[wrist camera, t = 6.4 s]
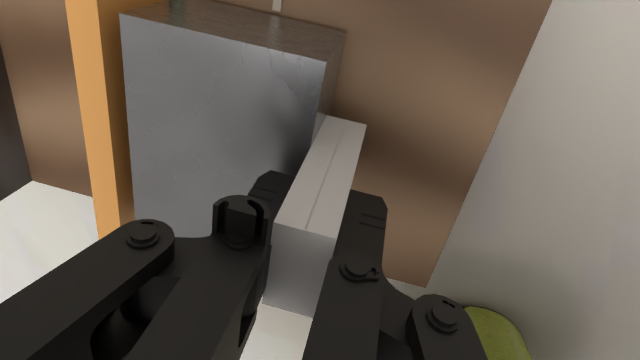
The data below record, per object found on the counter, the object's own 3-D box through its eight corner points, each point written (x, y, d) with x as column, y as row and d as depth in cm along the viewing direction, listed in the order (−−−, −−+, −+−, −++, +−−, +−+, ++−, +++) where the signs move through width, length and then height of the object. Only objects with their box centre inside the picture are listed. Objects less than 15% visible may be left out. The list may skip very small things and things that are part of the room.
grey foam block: (310, 212, 19) (287, 273, 16) (185, 179, 19) (136, 231, 16) (347, 32, 15) (326, 62, 11) (185, -5, 15) (118, 13, 12)
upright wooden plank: (172, 218, 21) (125, 273, 17) (153, 213, 21) (102, 267, 17) (167, -91, 14) (86, -97, 10) (138, -96, 14) (50, -105, 11)
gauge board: (424, 260, 22) (427, 358, 17) (11, 149, 24) (-98, 208, 19) (546, -30, 15) (614, -11, 10) (-67, -159, 17) (-280, -199, 11)
